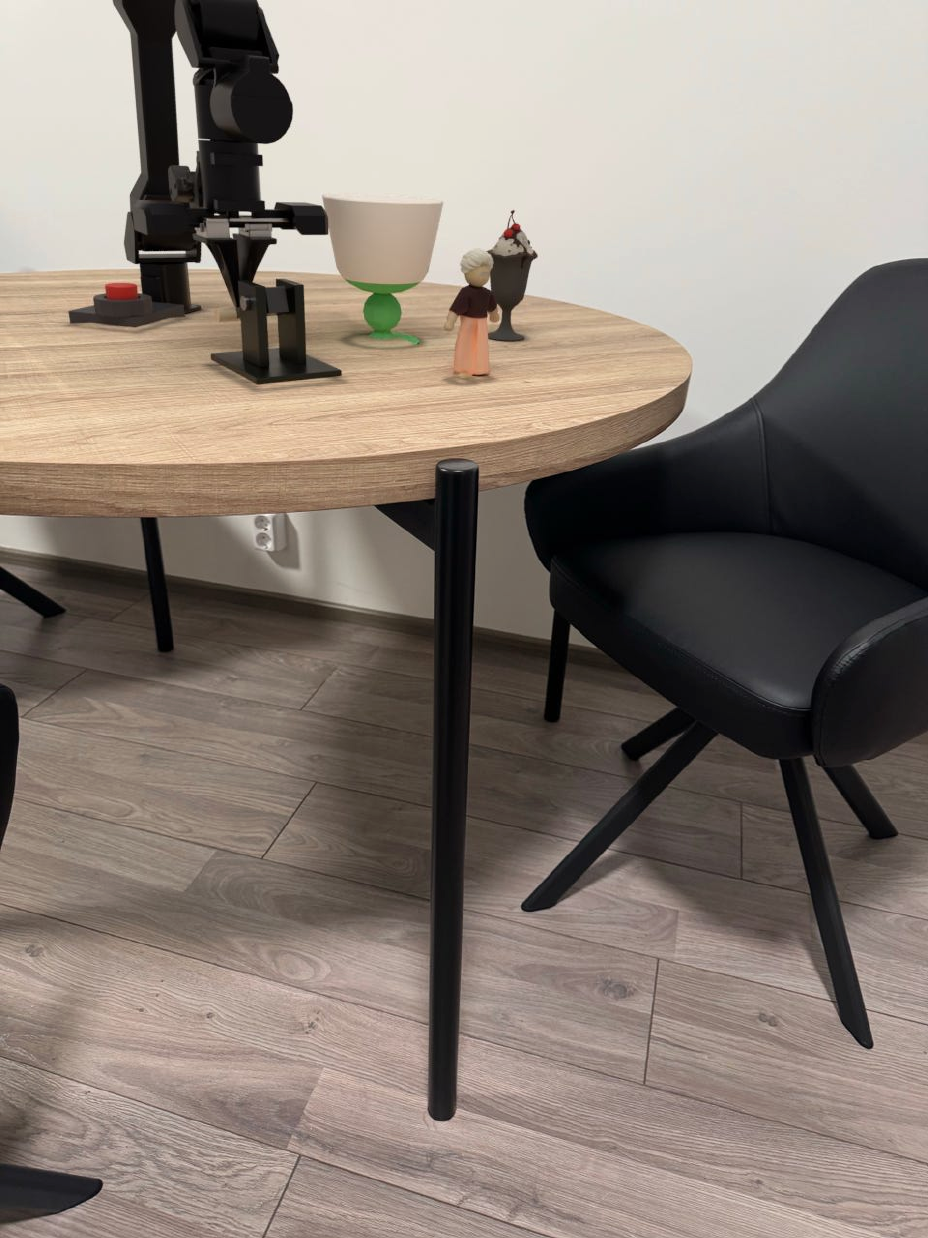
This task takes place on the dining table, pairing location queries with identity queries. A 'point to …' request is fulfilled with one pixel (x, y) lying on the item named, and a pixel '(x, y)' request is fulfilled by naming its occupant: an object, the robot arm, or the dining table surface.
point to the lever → (274, 306)
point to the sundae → (510, 276)
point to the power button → (121, 291)
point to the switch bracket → (256, 355)
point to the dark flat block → (125, 311)
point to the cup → (382, 249)
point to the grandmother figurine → (473, 315)
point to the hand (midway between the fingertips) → (239, 306)
